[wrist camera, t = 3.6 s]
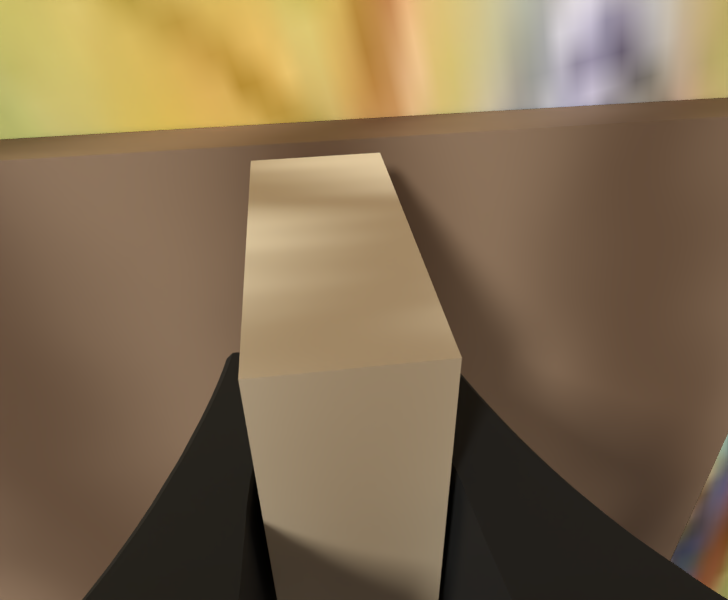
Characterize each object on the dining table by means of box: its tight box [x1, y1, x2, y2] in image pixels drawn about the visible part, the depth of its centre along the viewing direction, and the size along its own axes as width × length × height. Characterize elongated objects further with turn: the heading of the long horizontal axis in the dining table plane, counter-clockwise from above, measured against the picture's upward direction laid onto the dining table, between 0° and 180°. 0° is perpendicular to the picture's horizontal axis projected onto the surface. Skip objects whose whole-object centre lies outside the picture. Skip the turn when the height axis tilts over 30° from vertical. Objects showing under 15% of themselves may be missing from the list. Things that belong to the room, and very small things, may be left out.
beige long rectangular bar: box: [238, 153, 462, 600], centre depth 11 cm, size 2×11×5 cm, turn 1°
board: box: [0, 98, 728, 600], centre depth 19 cm, size 20×28×1 cm
